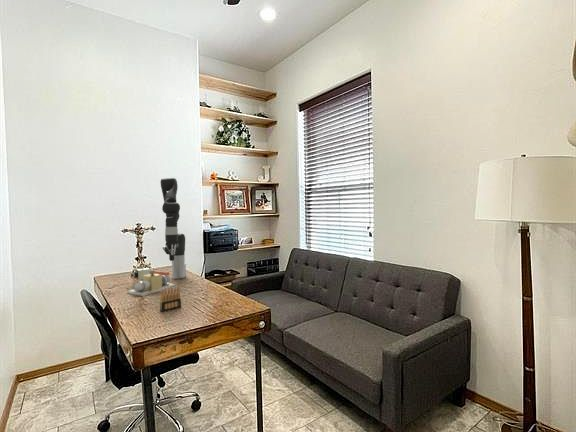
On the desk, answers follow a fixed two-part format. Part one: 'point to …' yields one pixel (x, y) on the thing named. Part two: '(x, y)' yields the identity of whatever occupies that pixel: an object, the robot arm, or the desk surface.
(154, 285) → the valve stand
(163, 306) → the ammunition clip
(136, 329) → the desk surface
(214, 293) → the desk surface
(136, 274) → the pneumatic valve
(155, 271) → the valve lever
